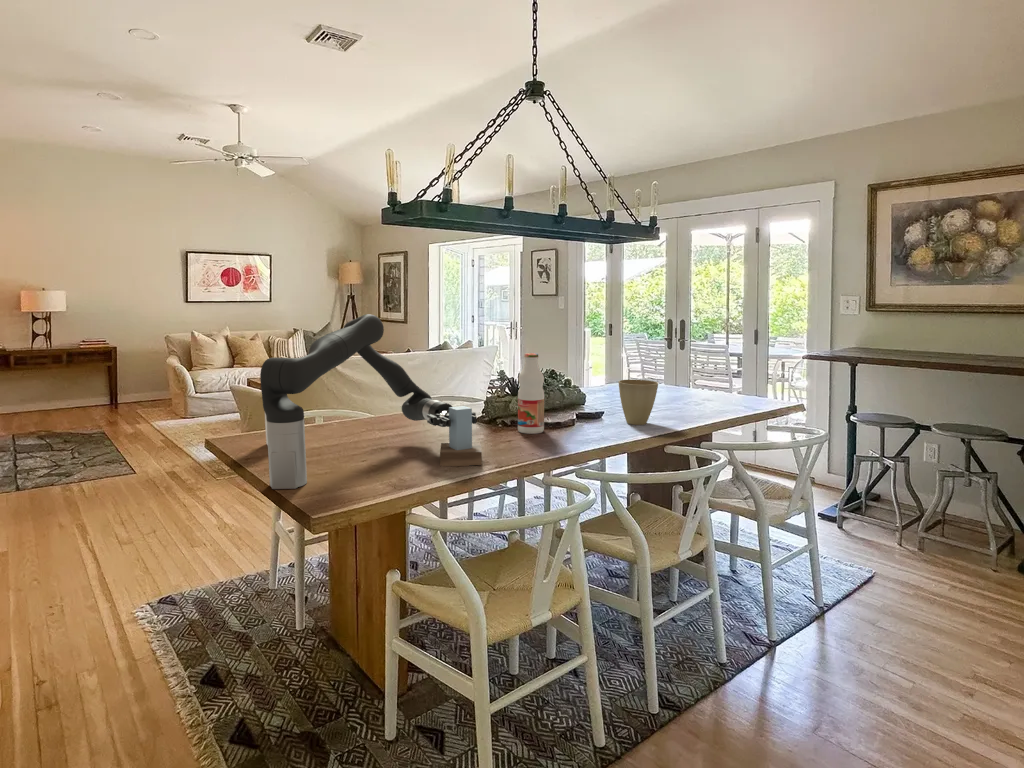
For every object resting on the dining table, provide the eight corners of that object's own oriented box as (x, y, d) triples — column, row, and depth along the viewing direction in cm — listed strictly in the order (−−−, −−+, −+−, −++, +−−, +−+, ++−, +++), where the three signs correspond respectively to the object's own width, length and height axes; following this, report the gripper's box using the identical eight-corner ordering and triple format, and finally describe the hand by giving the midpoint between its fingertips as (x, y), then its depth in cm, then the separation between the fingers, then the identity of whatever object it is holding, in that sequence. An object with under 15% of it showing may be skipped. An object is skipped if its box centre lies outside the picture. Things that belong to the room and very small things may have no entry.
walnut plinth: (481, 465, 192) (481, 452, 191) (440, 466, 191) (439, 452, 191) (480, 455, 204) (480, 442, 203) (441, 455, 203) (441, 443, 202)
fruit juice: (548, 432, 236) (549, 354, 232) (525, 435, 232) (526, 355, 228) (535, 427, 244) (536, 352, 240) (513, 430, 240) (513, 353, 236)
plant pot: (641, 429, 242) (642, 386, 240) (609, 422, 253) (610, 381, 251) (664, 423, 252) (666, 382, 250) (633, 417, 263) (634, 378, 261)
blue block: (457, 450, 193) (456, 409, 192) (449, 446, 198) (448, 407, 196) (472, 448, 196) (471, 408, 194) (464, 444, 200) (463, 405, 199)
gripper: (417, 403, 204) (440, 411, 190) (458, 399, 211) (483, 407, 198) (417, 427, 205) (441, 437, 191) (458, 422, 213) (483, 431, 199)
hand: (462, 421), depth 195 cm, fingers open, 8 cm apart
